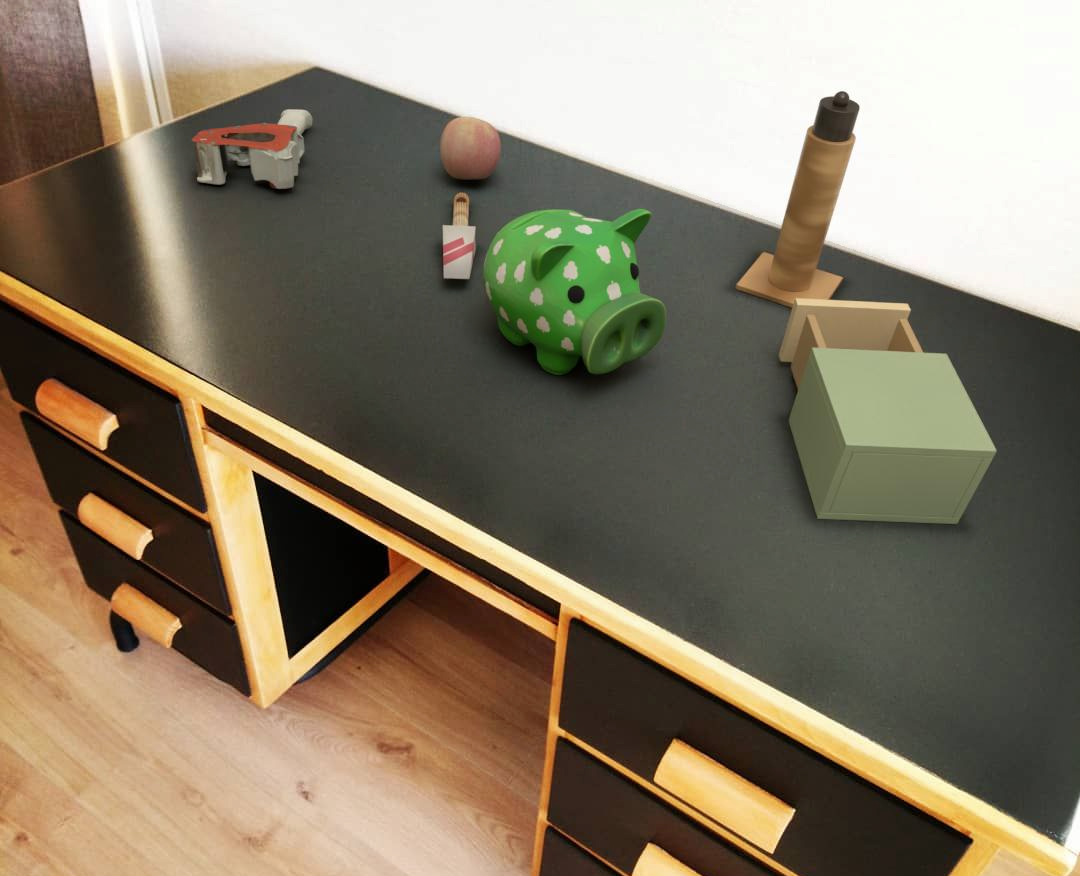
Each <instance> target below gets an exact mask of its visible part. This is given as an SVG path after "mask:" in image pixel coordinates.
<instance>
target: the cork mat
mask: <svg viewBox="0 0 1080 876" xmlns="http://www.w3.org/2000/svg"><path fill="white" fill-rule="evenodd" d="M773 257H774V254H771V253H769V252H766V251H763V252H762V253H761V254H760V255H759V257H757V259H756V260H755V261H754V262H753V264H752V265H751V267H749V269H748V270H747V271H746V272H745V274H744V275H743V276H742V277H741V278H740V280H739V281H738V282H737V283H736V284H735V290H737V291H740V292H744V293H746V294H749V295H752V296H755V297H758V298H761V299H764V300H766V301H767V300H768V301H770V302H773V303H776V304H779V305H783V306H785V307H788V308H791V309H792V308H793V304H794V301H795V298H802V299H822V300H831V298H832V297H833V296H834V294H835V292H837V289H838V288H839V286H840V285H841V284H842V282H843V280H844V277H843V276H840V275H837V274H834V273H831V272H827V271H825V270H821V269H818V268H816V271H815V275H814V278H813V281H812V284H811V287H810V288H808V289H807V290H805V291H800V292H792V291H786V290H783V289H780V288H778V287H776V286H774V285H773V284H772V283H771V282H770V280H769V272H770V268H771V265H772V261H773Z"/></svg>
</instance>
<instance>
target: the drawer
mask: <svg viewBox="0 0 1080 876" xmlns="http://www.w3.org/2000/svg"><path fill="white" fill-rule="evenodd" d="M911 311H912V309H911V308H910V305H909V303H901V302H884V301H883V302H882V301H881V302H879V301H863V300H861V301H860V300H859V301H858V300H843V299H841V300H839V299H830V300H822V299H802V298H795V301H794V304H793V308H791V311H790V314H789V318H788V320H787V321H788V322H787V325H786V327H785V328H786V329H785V332H784V335H783V338H782V342H781V346H780V349H779V352H778V357H779V361H780V362H785V363H791V365H790V370H791V373H792V375H793V379H794V381H795V385H796V388H797V390H798V389H799V386H800V383H801V380H802V377H803V374H804V371H805V368H806V365H807V361H808V358H809V355H810V352H811V349H812V348H834V349H855V350H876V351H898V352H919V353H924V351H923V348H922V347H921V345H920V342H919V341H918V339H917V337H916V335H915V333H914V330H913V329H912V326H911V325H910V322H909V321H908V319H909V316H910V313H911Z"/></svg>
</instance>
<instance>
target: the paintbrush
mask: <svg viewBox="0 0 1080 876" xmlns="http://www.w3.org/2000/svg"><path fill="white" fill-rule="evenodd" d="M469 211H470V197H469V196H468V194H467V193H465V192H459V193H456V195H454V198H453V214H452V216H453V217H452V225H450V224H449V225H448V224H447V225H446V224H442V248H443V249H442V252H443V253H442V254H443V255H442V256H443V257H442V258H443V279H456V280H458V279H459V280H470V277H471V273H472V268H473V264H474V261H475V260H474V259H475V255H476V251H477V244H476V231H477V230H476V228H477V227H476V226H475V225H473V226H472V225H469Z"/></svg>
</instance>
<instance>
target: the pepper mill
mask: <svg viewBox="0 0 1080 876" xmlns="http://www.w3.org/2000/svg"><path fill="white" fill-rule="evenodd" d="M859 112H860V105H859V103H858V102H856V101H854V100H852V99H850V95H849V93H848V92H847V91H844V90H841V91H840V90H839V91H837V92H835V94H834V96H833V95H830V96H824V97H822V98H821V99H820V100H819V103H818V106H817V111H816V114H815V118H814V121H813V125H810V126H809V127H808V128H807V129H806V133H805V136H804V140H803V144H802V147H801V152H800V155H799V160H798V163H797V166H796V170H795V174H794V179H793V181H792V185H791V189H790V193H789V196H788V200H787V204H786V208H785V213H784V216H783V220H782V223H781V226H780V227H781V228H780V231H779V234H778V239H777V241H776V246H775V250H774V253H773V255H774V257H773V261H772V265H771V268H770V272H769V280H770V282H771V283H772V284H773V285H774V286H776V287H778V288H780V289H783V290H786V291H792V292H800V291H805V290H807V289H808V288H810V287H811V284H812V281H813V278H814V275H815V271H816V269H818V264H819V261H820V257H821V254H822V251H823V248H824V245H825V241H826V238H827V235H828V232H829V228H830V225H831V222H832V220H833V219H832V218H833V215H834V211H835V208H836V205H837V202H838V198H839V196H840V192H841V189H842V185H843V182H844V180H845V175H846V172H847V169H848V166H849V162H850V159H851V156H852V152H853V149H854V146H855V143H856V138H857V137H856V135H855V133H854V130H855V125H856V122H857V118H858V116H859Z"/></svg>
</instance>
